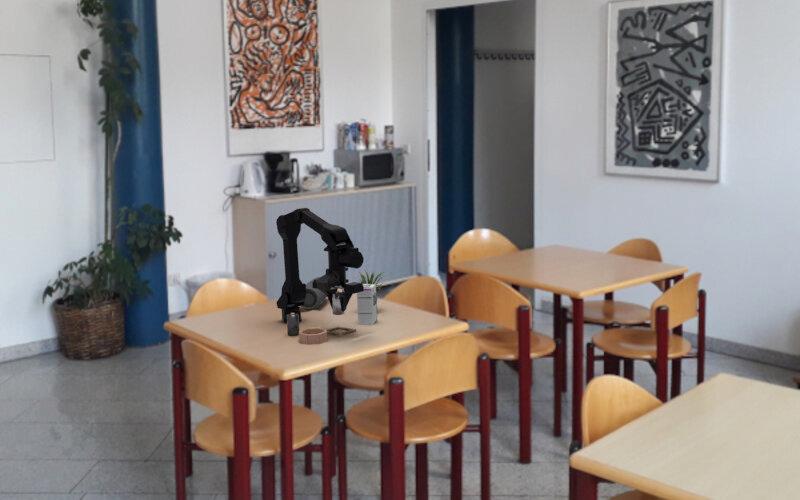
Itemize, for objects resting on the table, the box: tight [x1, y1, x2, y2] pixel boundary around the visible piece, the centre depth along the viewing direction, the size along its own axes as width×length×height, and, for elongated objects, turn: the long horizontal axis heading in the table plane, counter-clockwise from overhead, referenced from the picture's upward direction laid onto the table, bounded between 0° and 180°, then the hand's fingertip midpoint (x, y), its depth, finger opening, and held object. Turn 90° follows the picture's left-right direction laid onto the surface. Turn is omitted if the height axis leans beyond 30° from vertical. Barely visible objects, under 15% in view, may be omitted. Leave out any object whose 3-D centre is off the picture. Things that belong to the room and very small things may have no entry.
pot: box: [298, 327, 328, 345], centre depth 297 cm, size 9×9×4 cm
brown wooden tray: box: [326, 326, 357, 338], centre depth 307 cm, size 8×8×2 cm
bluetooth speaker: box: [300, 276, 328, 310], centre depth 352 cm, size 23×9×10 cm, turn 172°
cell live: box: [332, 290, 346, 316], centre depth 305 cm, size 4×4×8 cm
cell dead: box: [286, 313, 300, 337], centre depth 304 cm, size 4×4×8 cm
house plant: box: [353, 270, 386, 301], centre depth 339 cm, size 14×14×16 cm
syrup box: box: [356, 283, 378, 326], centre depth 319 cm, size 6×6×14 cm
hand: (338, 310), depth 305 cm, fingers closed on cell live, 4 cm apart
